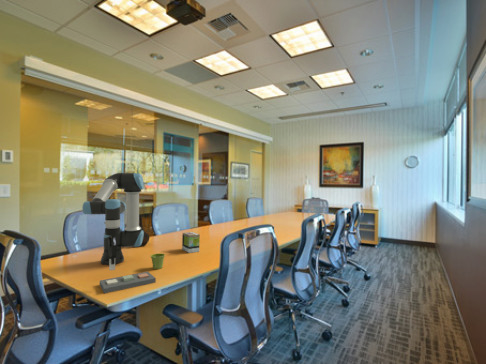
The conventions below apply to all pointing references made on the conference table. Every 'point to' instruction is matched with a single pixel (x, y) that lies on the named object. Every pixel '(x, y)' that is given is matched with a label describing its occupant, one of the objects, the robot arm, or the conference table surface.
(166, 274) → the conference table surface
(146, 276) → the terracotta button
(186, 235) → the tea box
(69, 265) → the conference table surface
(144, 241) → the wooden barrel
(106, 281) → the cream button
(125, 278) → the sage button
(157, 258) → the plant pot
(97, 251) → the conference table surface
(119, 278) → the button board
